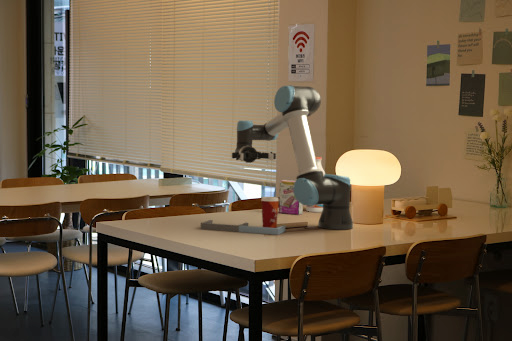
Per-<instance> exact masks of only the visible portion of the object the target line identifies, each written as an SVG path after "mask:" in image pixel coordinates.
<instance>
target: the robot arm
mask: <svg viewBox="0 0 512 341" xmlns="http://www.w3.org/2000/svg"><path fill="white" fill-rule="evenodd" d="M273 103H274V108H275V110H276V111H277V112H279V114H278V115H276V116H275V117H273V118H272V119H270V120H269V121H267V122H265V123H264V124H254V122H253V120H238V122H237V125H236V148H235V150H234V151H233V152H231V159H235V160H236V161H240V162H245V163H246V164H248V163H250V164H251V163H253V162H255V161H256V160H261V159H264V160H265V159H266V160H270V161H274V160H276V159H277V158H276V157H277V153H276V152H274V153H273V151H269V152H264V151H262V152H261V151H257V149H256V148H254V147H253V141H269V142H270V141H275V140H277V138H278V136H279V133H281V132H282V131H284V130H286V129H287V128H288V131H289V135H290V139H291V144H292V147H293V152H294V158H295V161H296V166H297V170H298V173H297V175H296V176H295V178H296V180H294V181H295V183H294V187H293V192H294V195H295V198H296V199H297V201H298V202H299V203H301V204H303V205H304V206H306V205H310V206H313V205H321V204H323V211H322V212H320V213H321V214H320V216H319V219H318V223H317V224H318V228H322V229H327V230H350V229H353V228H354V221H353V218H352V215H351V212H350V202H351V178H350V177H348V176H345V175H338V174H330V173H325V175H324V176H323V172H322V171H321V170H320V169H318V166H317V161H316V157H317V156H316V154H315V148H314V144H313V139H312V135H311V132H310V127H309V123H308V117H311V116H312V115H313V114H316V112H317V111H318V110H319V109H320V107H321V105H322V98H321V95H320V92H319V91H318V90H317V89H315V88H314V87H311V86H302V85H301V86H300V85H291V84H290V85H283V86H280V87H279V88H278V89H277V91H276V92H275V95H274V101H273Z"/></svg>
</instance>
